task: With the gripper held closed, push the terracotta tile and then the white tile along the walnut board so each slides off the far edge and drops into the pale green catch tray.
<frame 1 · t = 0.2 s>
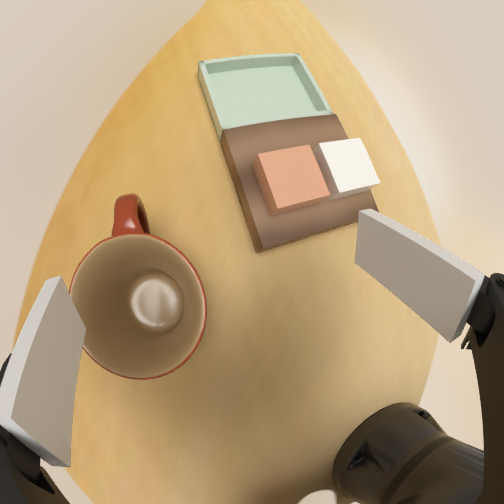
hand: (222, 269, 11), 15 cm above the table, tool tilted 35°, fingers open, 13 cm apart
board: (296, 181, 29), on the table
tile terracotta: (286, 184, 25), point 3 cm above the table, touching board
tray: (261, 97, 30), on the table
tile white: (339, 173, 27), point 3 cm above the table, touching board
mug: (156, 284, 25), on the table
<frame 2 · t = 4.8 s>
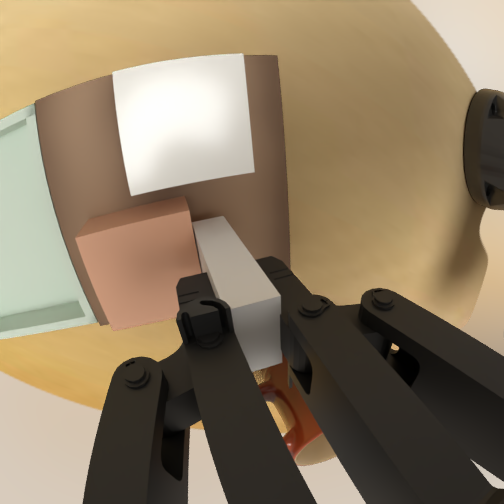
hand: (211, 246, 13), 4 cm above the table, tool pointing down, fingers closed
board: (168, 184, 15), on the table
tile terracotta: (146, 253, 14), point 3 cm above the table, touching board
tray: (9, 230, 13), on the table
tile white: (180, 121, 12), point 3 cm above the table, touching board
mug: (276, 352, 25), on the table
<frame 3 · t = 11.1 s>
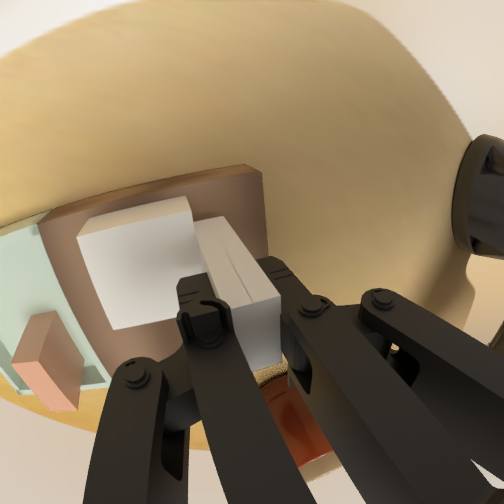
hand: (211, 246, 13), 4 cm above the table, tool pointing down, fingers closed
board: (168, 279, 18), on the table
tile terracotta: (64, 360, 15), point 3 cm above the table, tilted 90°, touching tray
tray: (29, 310, 15), on the table
tile white: (147, 252, 14), point 3 cm above the table, touching gripper
mug: (267, 392, 27), on the table
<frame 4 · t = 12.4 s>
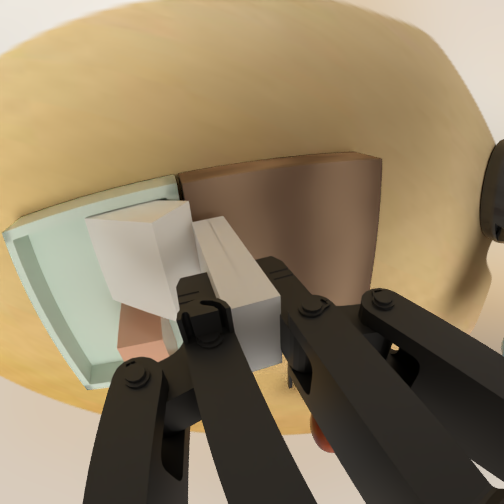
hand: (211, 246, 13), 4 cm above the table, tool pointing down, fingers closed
board: (281, 251, 20), on the table
tile terracotta: (171, 341, 16), point 3 cm above the table, tilted 90°, touching tray
tray: (117, 289, 17), on the table
tile white: (159, 245, 14), point 2 cm above the table, tilted 41°, touching gripper
mug: (332, 368, 29), on the table
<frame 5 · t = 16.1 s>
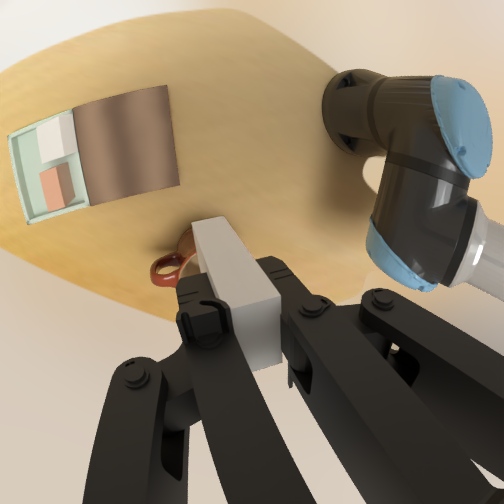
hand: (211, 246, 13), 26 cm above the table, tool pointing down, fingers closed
board: (127, 143, 32), on the table
tile terracotta: (66, 183, 29), point 3 cm above the table, tilted 90°, touching tray
tray: (51, 166, 29), on the table
tile white: (62, 137, 27), point 2 cm above the table, tilted 28°, touching tray
mug: (190, 245, 41), on the table
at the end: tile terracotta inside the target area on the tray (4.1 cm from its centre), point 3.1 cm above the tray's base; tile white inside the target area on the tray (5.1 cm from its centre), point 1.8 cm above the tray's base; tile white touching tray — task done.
